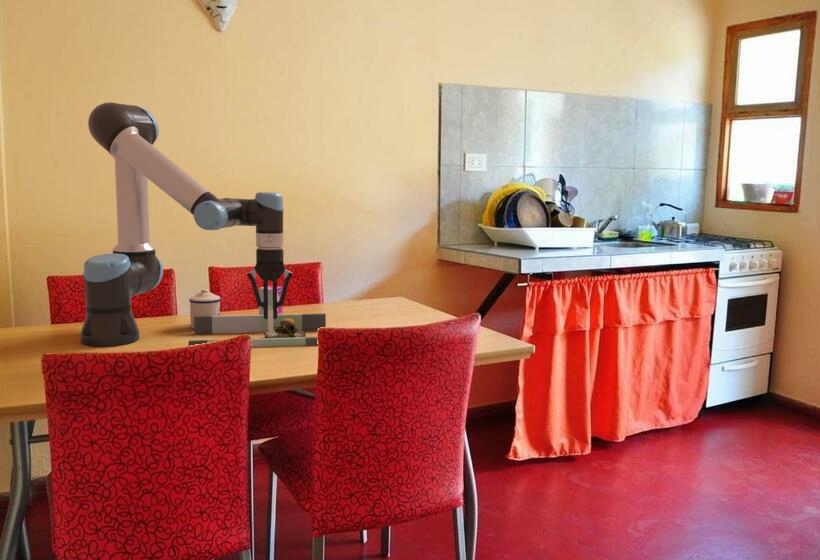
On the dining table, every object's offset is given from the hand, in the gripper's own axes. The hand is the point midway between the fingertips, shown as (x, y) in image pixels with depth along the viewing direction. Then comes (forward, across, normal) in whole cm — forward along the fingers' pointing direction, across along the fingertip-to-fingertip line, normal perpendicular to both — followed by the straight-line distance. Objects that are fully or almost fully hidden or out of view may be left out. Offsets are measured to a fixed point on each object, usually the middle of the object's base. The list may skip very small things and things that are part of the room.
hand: (270, 330), depth 205 cm
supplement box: (+3, 0, +20) cm, 20 cm away
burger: (+3, +4, -1) cm, 5 cm away
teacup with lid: (+3, -20, +18) cm, 27 cm away
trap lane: (+2, -3, 0) cm, 4 cm away
